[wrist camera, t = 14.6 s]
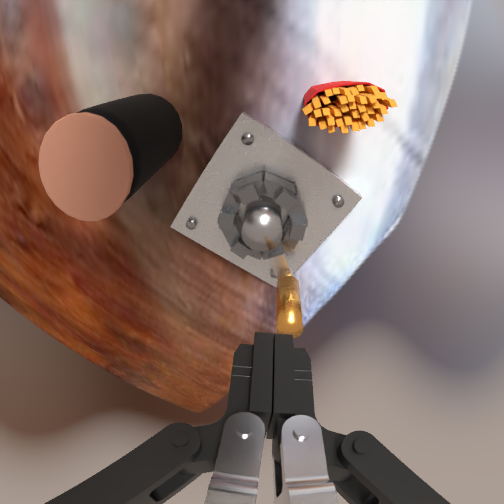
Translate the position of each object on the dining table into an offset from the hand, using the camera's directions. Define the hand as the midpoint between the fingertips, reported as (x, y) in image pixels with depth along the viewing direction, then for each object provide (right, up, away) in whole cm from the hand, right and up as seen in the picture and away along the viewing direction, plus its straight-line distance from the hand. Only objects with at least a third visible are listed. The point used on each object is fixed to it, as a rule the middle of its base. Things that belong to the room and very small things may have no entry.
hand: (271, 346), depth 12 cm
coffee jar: (-15, +21, +27) cm, 38 cm away
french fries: (+9, +24, +24) cm, 35 cm away
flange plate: (+1, +10, +33) cm, 34 cm away
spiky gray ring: (+2, +7, +33) cm, 33 cm away
